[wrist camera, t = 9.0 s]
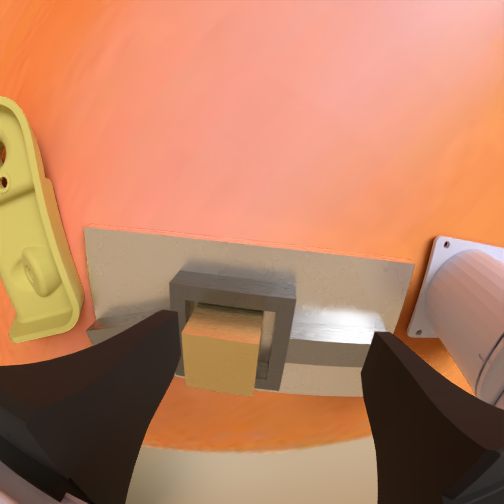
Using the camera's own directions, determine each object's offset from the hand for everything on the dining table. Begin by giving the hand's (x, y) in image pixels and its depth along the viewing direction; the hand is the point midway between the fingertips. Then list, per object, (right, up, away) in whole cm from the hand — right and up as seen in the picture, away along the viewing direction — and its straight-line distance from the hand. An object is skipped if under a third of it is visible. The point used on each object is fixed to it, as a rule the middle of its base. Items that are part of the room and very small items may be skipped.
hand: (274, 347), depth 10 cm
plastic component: (-20, +7, +10) cm, 24 cm away
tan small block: (-2, -1, +9) cm, 10 cm away
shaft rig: (-2, -1, +11) cm, 11 cm away
